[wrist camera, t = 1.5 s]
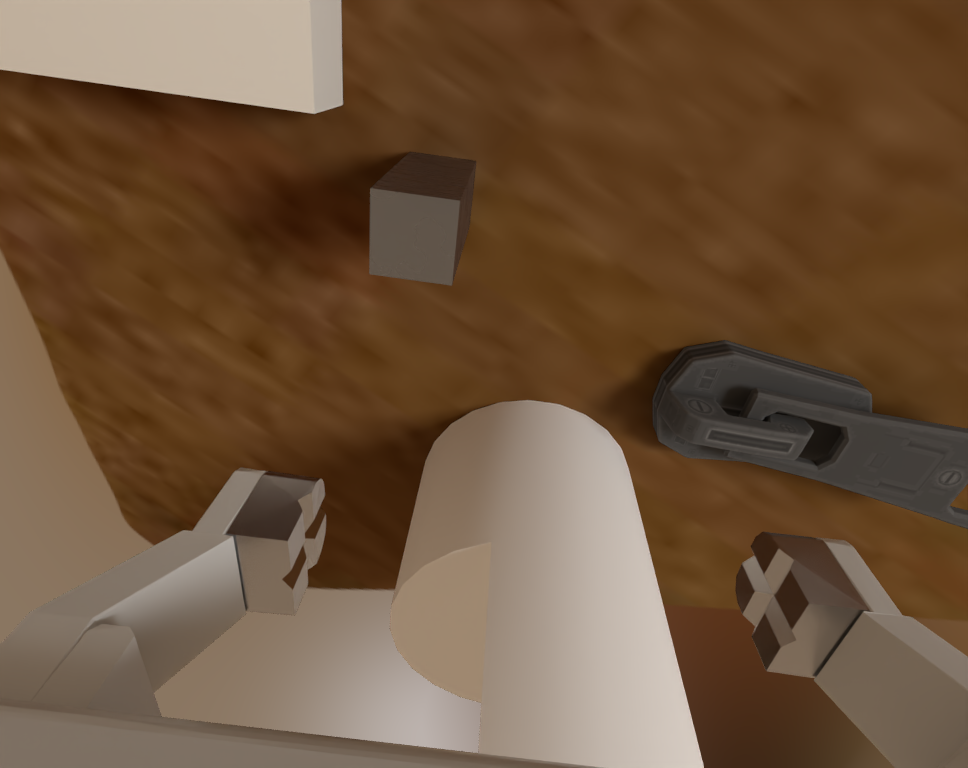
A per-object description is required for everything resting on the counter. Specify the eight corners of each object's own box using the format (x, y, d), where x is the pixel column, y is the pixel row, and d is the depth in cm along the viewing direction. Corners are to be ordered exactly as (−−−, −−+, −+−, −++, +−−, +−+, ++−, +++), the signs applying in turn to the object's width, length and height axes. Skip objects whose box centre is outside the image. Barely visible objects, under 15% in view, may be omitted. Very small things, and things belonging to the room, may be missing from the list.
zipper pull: (1007, 549, 37) (655, 491, 37) (943, 483, 43) (637, 432, 42) (1105, 449, 33) (704, 381, 32) (1020, 391, 38) (677, 331, 38)
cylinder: (614, 381, 40) (749, 872, 16) (640, 541, 48) (754, 1017, 25) (394, 421, 43) (237, 882, 19) (456, 565, 52) (399, 1007, 28)
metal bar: (410, 151, 32) (370, 188, 24) (476, 160, 32) (460, 200, 24) (407, 218, 34) (369, 274, 26) (469, 227, 34) (451, 285, 26)
